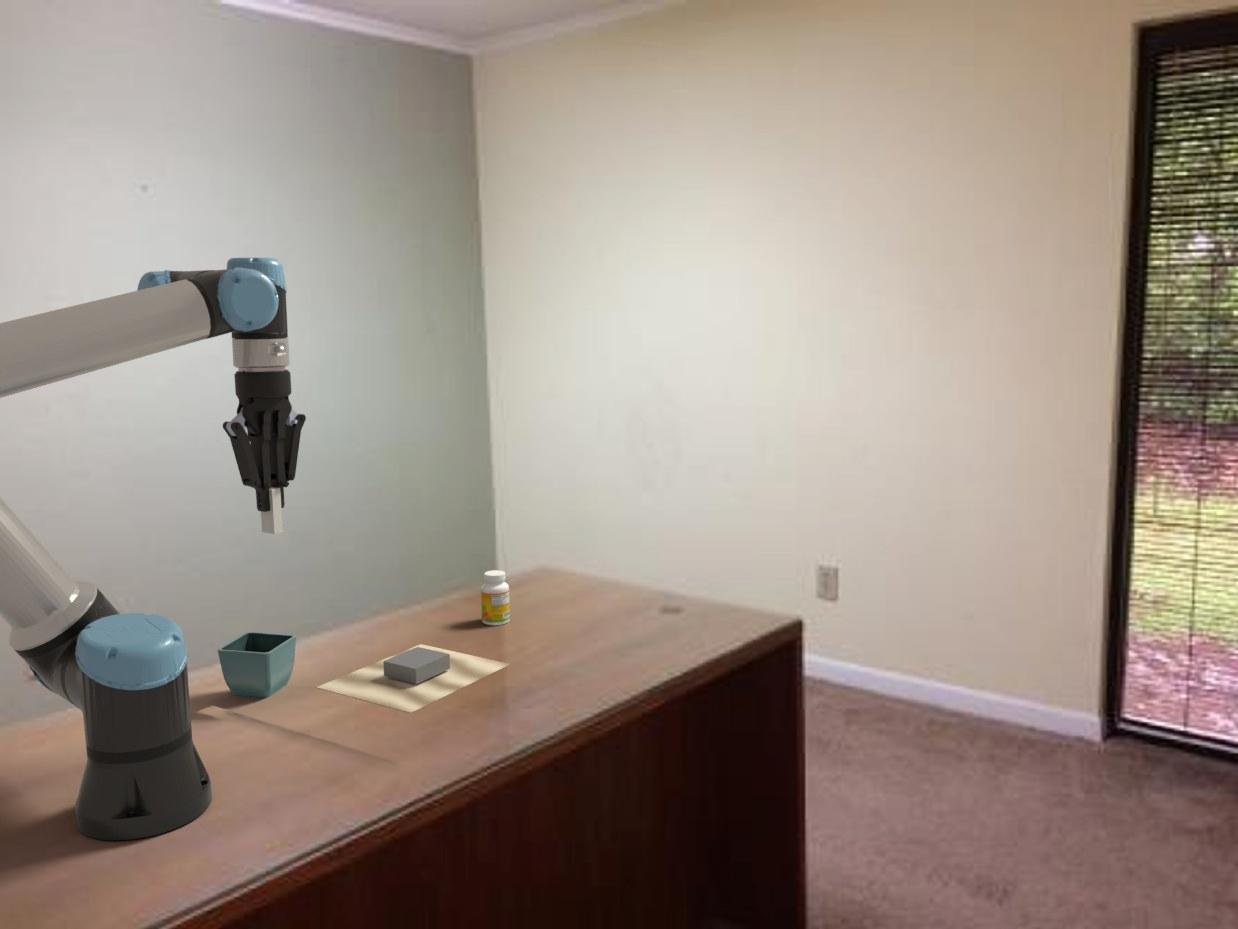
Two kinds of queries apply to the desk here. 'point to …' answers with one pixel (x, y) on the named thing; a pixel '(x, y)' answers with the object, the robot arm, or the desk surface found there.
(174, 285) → the robot arm
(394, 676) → the tile
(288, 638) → the flower pot
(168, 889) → the desk surface
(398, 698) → the board
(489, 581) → the supplement bottle
